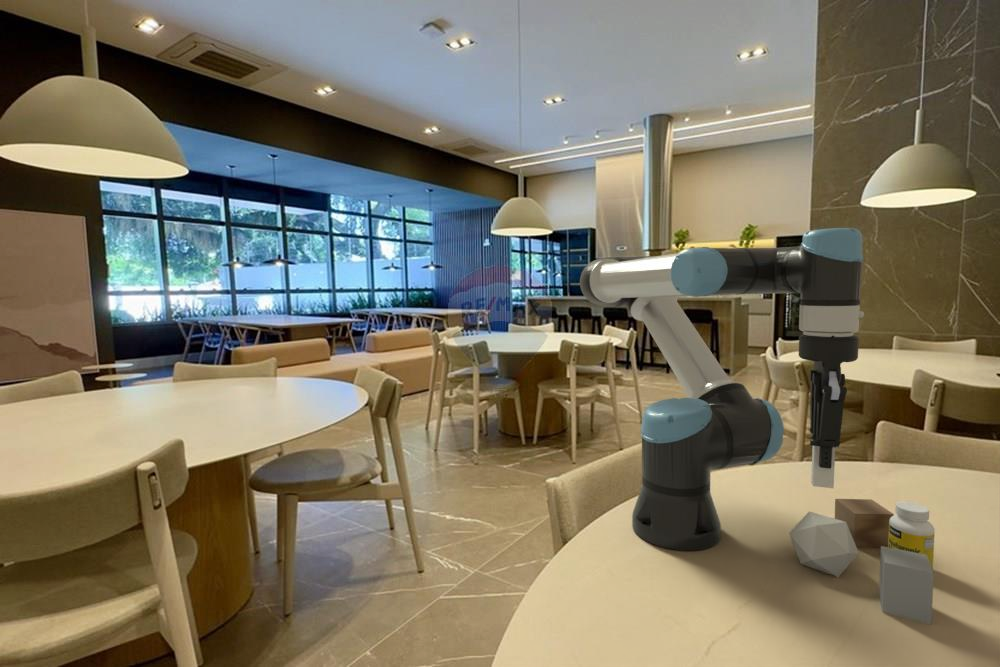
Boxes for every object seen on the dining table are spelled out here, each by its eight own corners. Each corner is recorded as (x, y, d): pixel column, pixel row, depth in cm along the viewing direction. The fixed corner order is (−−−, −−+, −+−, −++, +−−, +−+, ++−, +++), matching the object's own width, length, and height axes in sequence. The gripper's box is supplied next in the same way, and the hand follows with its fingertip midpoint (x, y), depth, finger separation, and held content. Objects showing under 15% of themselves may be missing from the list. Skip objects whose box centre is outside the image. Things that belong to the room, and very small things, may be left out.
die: (866, 573, 78) (836, 509, 83) (871, 570, 71) (838, 501, 76) (808, 582, 81) (783, 520, 86) (808, 581, 74) (780, 513, 79)
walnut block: (853, 548, 84) (854, 513, 84) (834, 531, 90) (835, 498, 89) (892, 549, 83) (894, 514, 83) (870, 532, 89) (871, 499, 89)
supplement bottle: (879, 563, 79) (881, 502, 78) (900, 555, 81) (903, 496, 80) (919, 581, 74) (922, 516, 73) (940, 572, 76) (943, 509, 76)
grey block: (882, 612, 67) (884, 562, 67) (879, 593, 72) (880, 545, 71) (931, 625, 65) (933, 572, 64) (924, 604, 69) (926, 555, 68)
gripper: (871, 338, 68) (863, 506, 71) (847, 329, 80) (840, 473, 83) (807, 337, 71) (801, 498, 73) (793, 329, 83) (788, 468, 85)
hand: (822, 485), depth 78 cm, fingers closed
